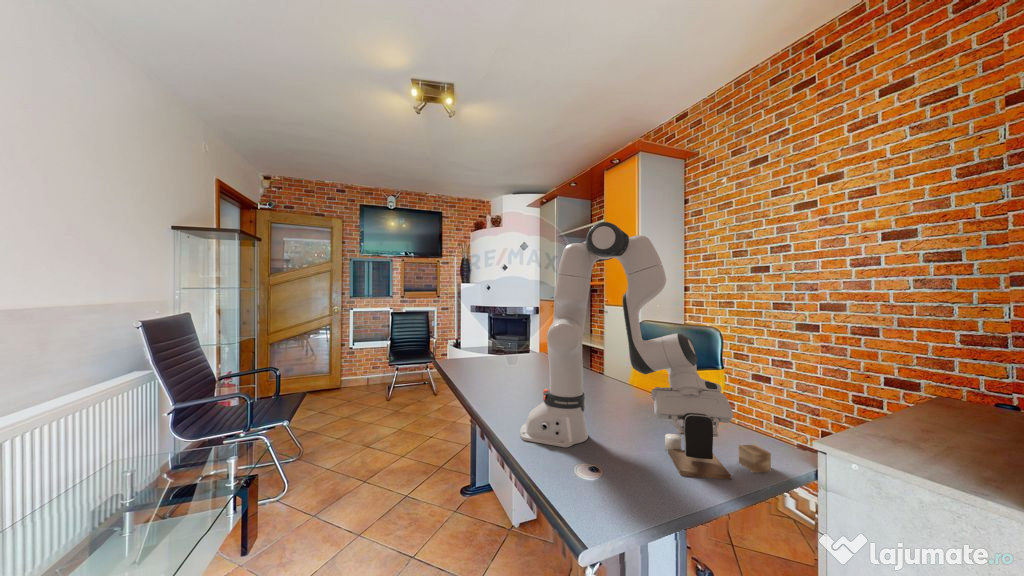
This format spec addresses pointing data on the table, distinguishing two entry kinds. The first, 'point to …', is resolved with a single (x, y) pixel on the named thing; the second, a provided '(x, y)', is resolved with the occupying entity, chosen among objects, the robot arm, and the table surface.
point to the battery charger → (698, 436)
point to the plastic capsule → (672, 442)
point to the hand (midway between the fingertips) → (698, 434)
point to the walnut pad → (698, 466)
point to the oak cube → (754, 458)
